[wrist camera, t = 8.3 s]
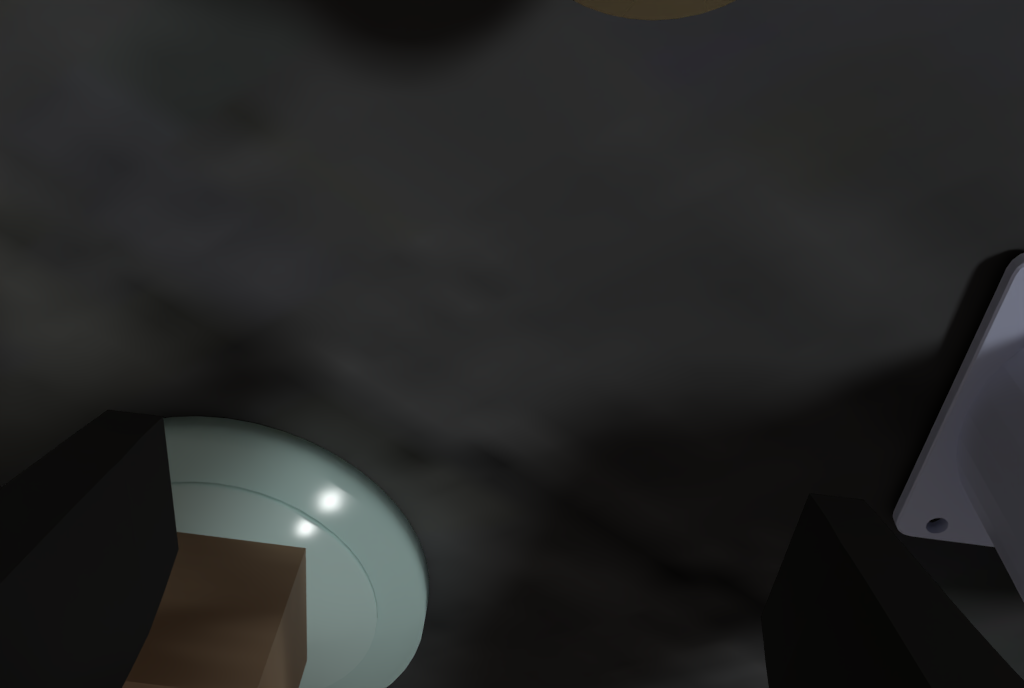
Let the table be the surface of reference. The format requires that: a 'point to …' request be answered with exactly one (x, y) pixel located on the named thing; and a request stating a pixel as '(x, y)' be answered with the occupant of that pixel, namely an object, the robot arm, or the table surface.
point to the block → (228, 618)
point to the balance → (653, 8)
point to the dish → (310, 539)
